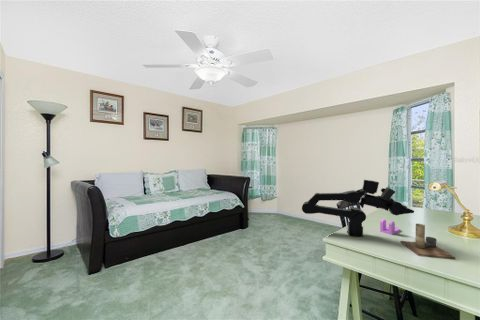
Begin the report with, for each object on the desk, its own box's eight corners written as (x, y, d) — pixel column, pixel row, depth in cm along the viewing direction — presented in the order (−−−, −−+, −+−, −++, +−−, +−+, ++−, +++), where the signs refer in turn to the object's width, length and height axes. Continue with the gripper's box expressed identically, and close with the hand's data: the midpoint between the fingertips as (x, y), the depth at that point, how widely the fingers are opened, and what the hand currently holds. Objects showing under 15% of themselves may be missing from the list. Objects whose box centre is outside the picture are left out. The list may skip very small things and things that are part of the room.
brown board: (418, 255, 91) (418, 253, 91) (400, 242, 105) (400, 240, 105) (455, 259, 88) (455, 256, 88) (432, 245, 102) (432, 243, 102)
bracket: (391, 235, 116) (391, 222, 116) (380, 232, 121) (380, 219, 121) (401, 230, 123) (402, 218, 123) (390, 228, 128) (390, 216, 128)
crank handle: (429, 243, 101) (429, 222, 101) (438, 246, 98) (438, 224, 98) (413, 245, 98) (413, 223, 98) (421, 249, 95) (422, 226, 95)
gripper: (382, 188, 103) (422, 196, 98) (374, 184, 121) (407, 191, 115) (377, 210, 104) (416, 220, 99) (369, 203, 121) (402, 211, 116)
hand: (410, 209), depth 107 cm, fingers open, 9 cm apart
